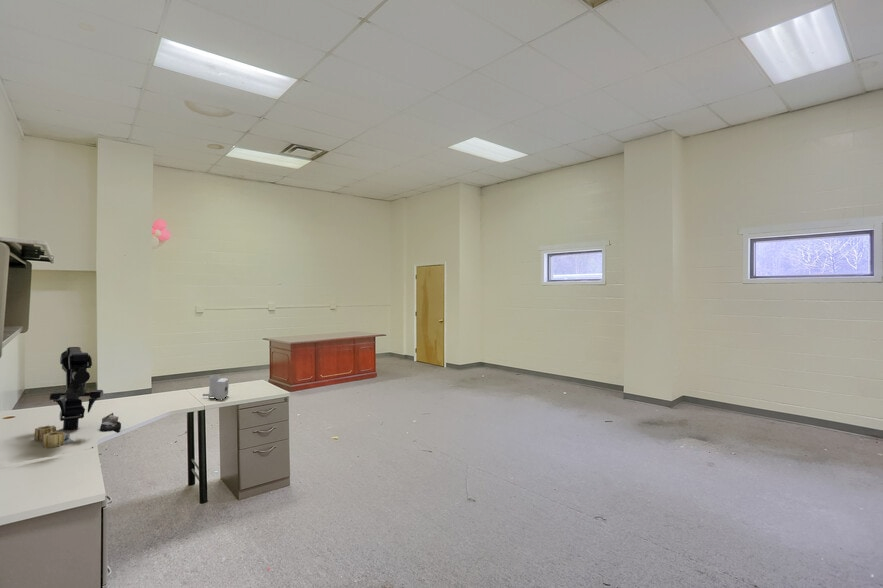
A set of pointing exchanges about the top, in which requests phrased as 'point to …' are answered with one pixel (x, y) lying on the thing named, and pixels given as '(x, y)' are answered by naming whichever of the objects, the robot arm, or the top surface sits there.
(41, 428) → the seated gear
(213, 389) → the grey block housing
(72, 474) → the top surface
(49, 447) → the plate
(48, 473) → the top surface
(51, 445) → the planet gear
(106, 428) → the caster wheel
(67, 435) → the sun gear
